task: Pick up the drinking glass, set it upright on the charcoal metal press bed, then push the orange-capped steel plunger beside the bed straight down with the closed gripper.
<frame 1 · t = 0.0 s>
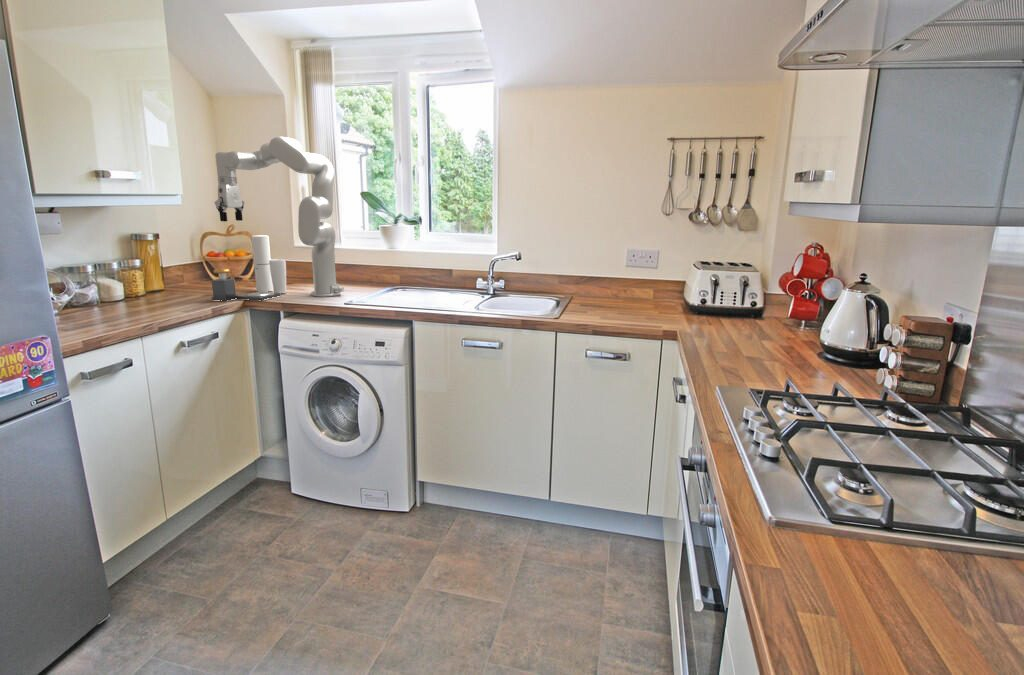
hand: (231, 220, 257), 31 cm above the worktop, tool pointing down, fingers open, 9 cm apart
cylindrical container: (265, 291, 262), on the worktop
drinking glass: (280, 293, 256), on the worktop
plunger: (222, 279, 237), point 9 cm above the worktop, slide at 0.0 cm
press base: (259, 298, 244), on the worktop
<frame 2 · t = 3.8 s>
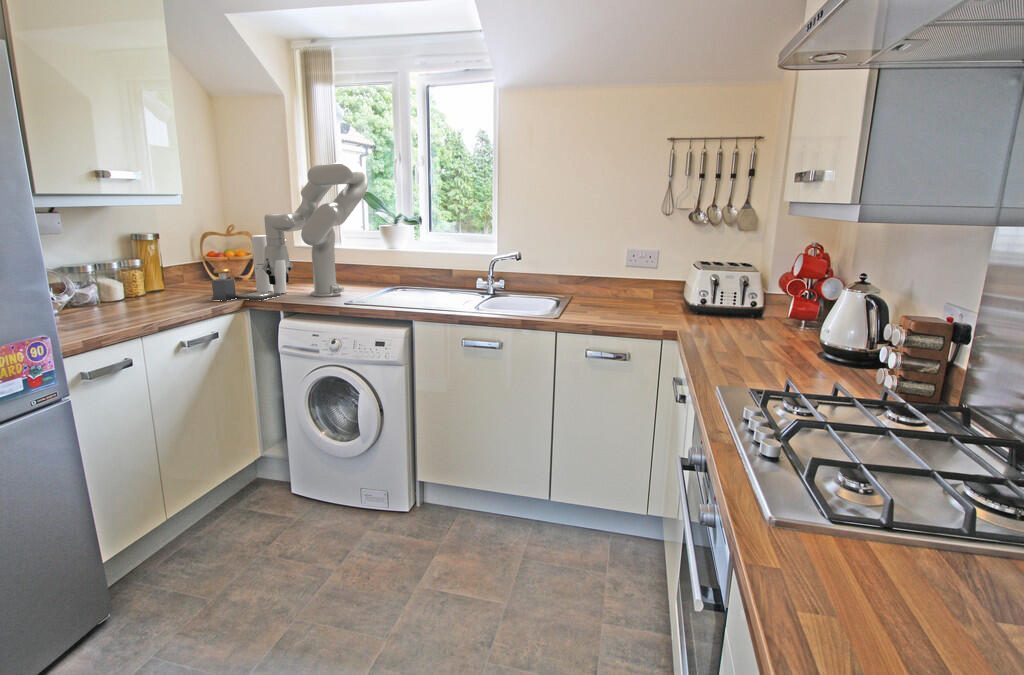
hand: (279, 283, 255), 5 cm above the worktop, tool pointing down, fingers closed on drinking glass, 6 cm apart
drinking glass: (280, 293, 256), on the worktop, touching gripper
everything else where it was.
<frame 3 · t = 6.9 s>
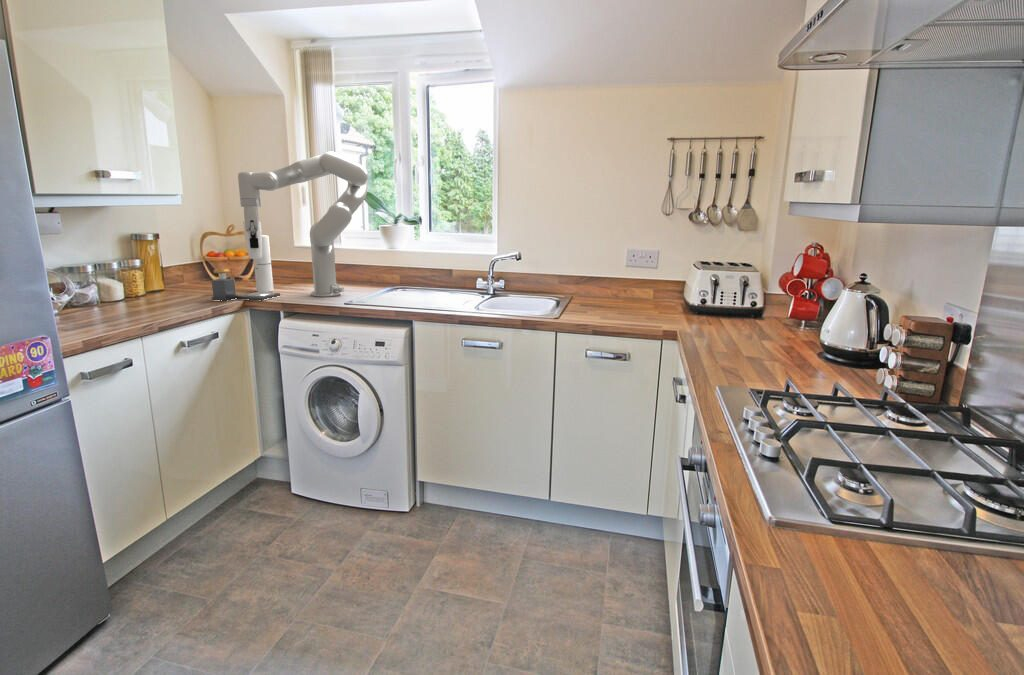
hand: (254, 247, 239), 22 cm above the worktop, tool pointing down, fingers closed on drinking glass, 6 cm apart
drinking glass: (255, 258, 241), point 17 cm above the worktop, touching gripper
everything else where it was.
when the fingers open (8 cm above the worktop, at t = 9.9 s): drinking glass drops 2 cm, resting on press base.
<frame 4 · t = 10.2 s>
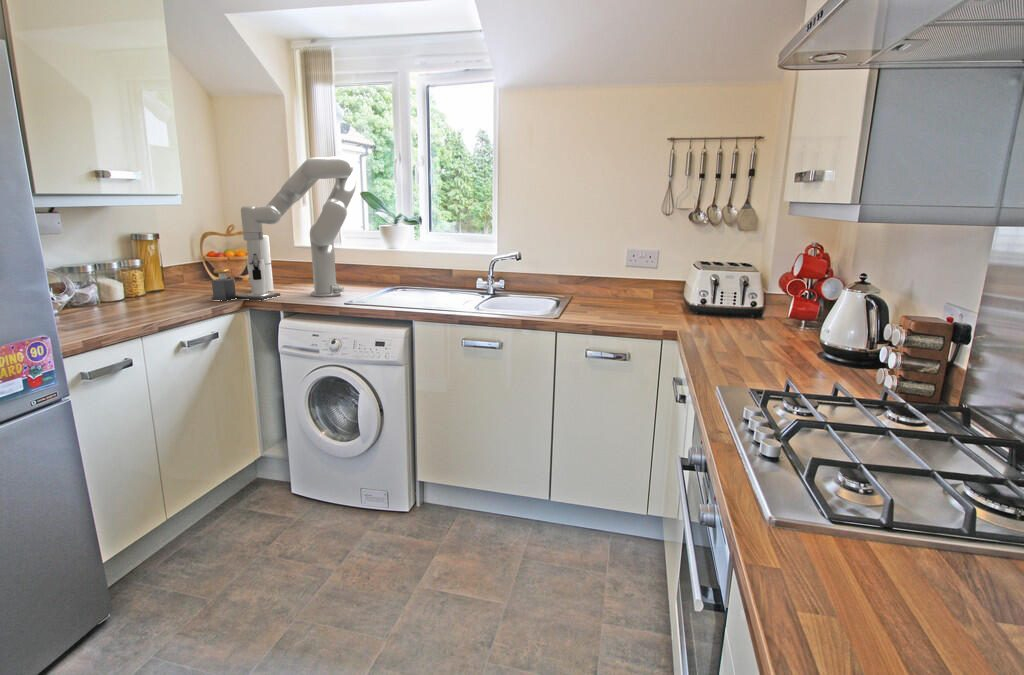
hand: (257, 278, 242), 9 cm above the worktop, tool pointing down, fingers open, 8 cm apart
drinking glass: (258, 294, 244), point 2 cm above the worktop, touching press base
everything else where it was.
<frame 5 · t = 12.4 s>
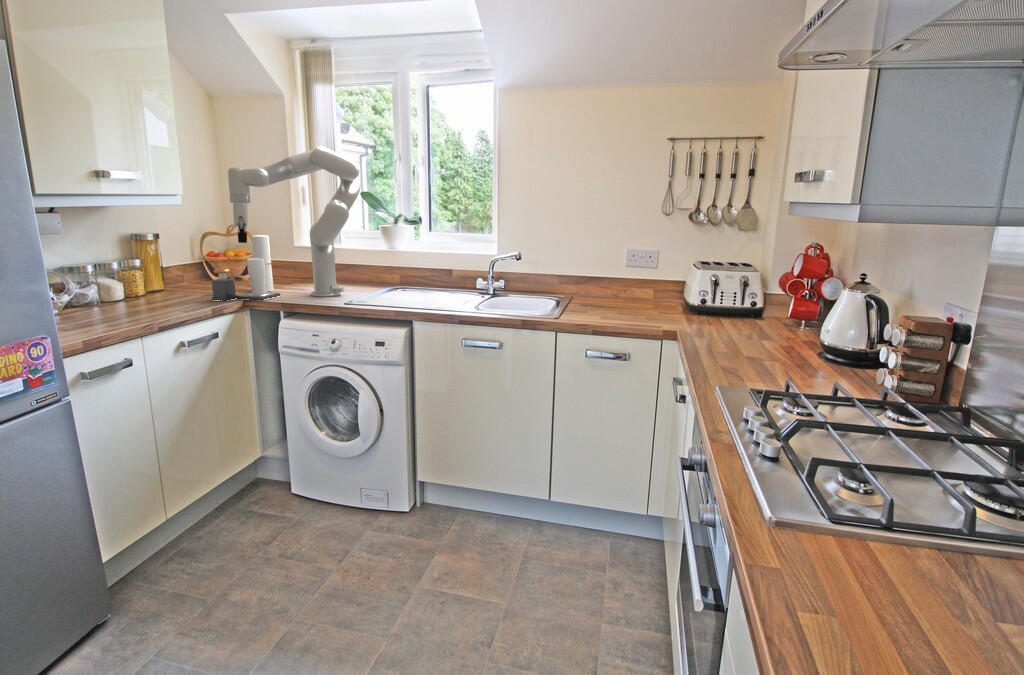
hand: (242, 241, 237), 24 cm above the worktop, tool pointing down, fingers open, 9 cm apart
nothing on the worktop moved.
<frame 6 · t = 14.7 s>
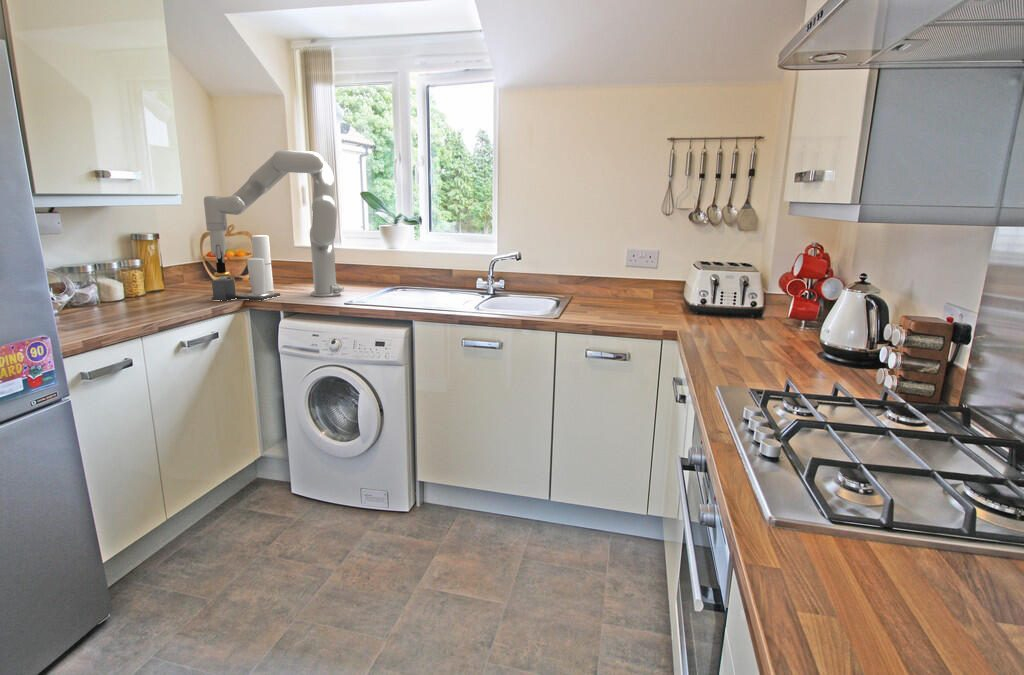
hand: (221, 272, 236), 12 cm above the worktop, tool pointing down, fingers closed
plunger: (223, 282, 237), point 7 cm above the worktop, slide at 1.2 cm, touching gripper
everything else where it was.
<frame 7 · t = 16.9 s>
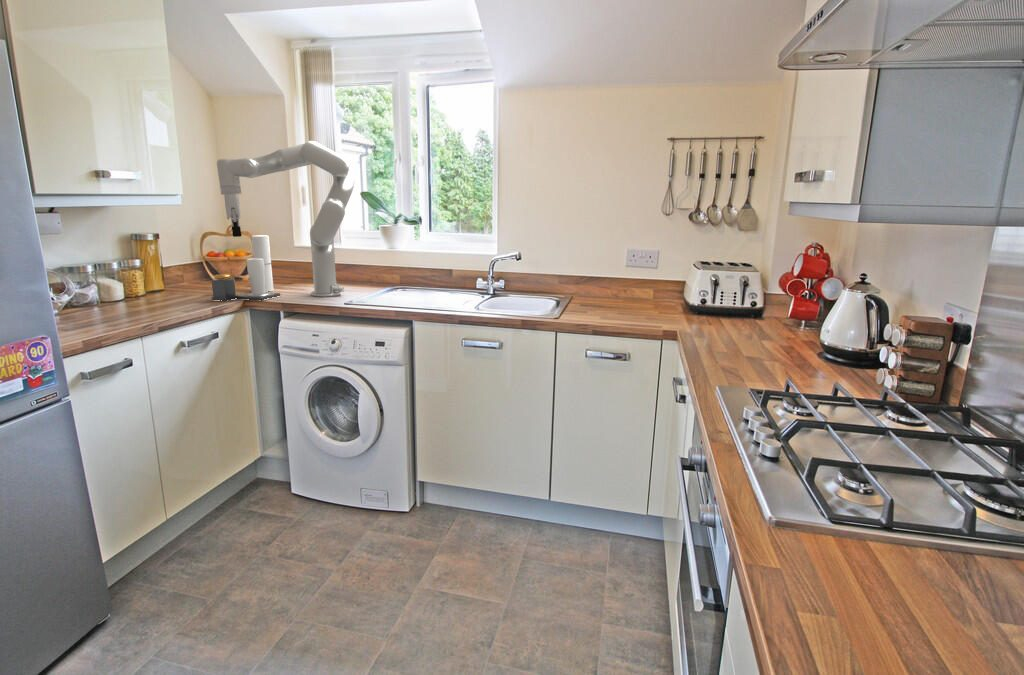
hand: (237, 236, 237), 26 cm above the worktop, tool pointing down, fingers closed
plunger: (223, 284, 238), point 6 cm above the worktop, slide at 2.3 cm
everything else where it was.
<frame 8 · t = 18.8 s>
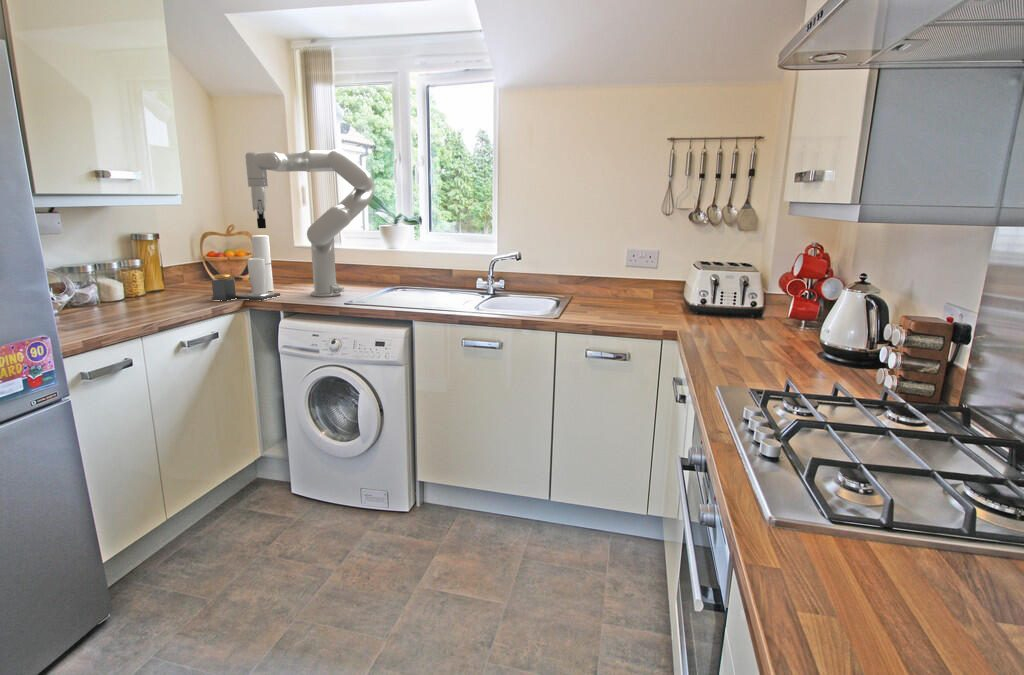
hand: (261, 228, 243), 29 cm above the worktop, tool pointing down, fingers closed
nothing on the worktop moved.
at the end: drinking glass inside the target area on the press base (0.3 cm from its centre), point 1.6 cm above the press base's base; drinking glass tilted 1°; plunger slide at 2.3 cm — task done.
